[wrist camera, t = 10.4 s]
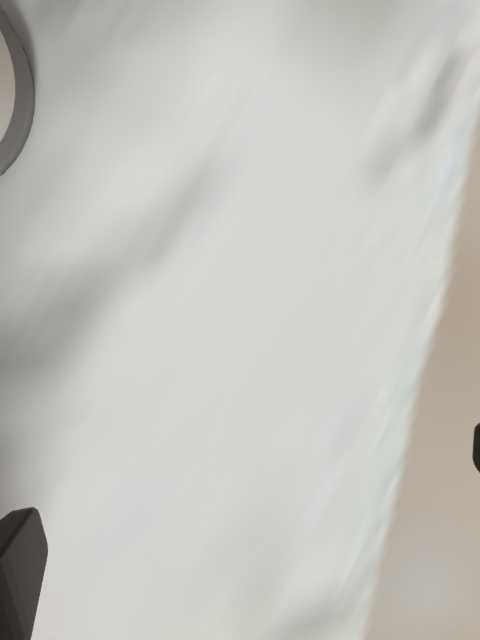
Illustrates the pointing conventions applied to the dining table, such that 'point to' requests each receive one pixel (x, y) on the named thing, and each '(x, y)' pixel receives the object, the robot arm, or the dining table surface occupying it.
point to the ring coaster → (13, 95)
